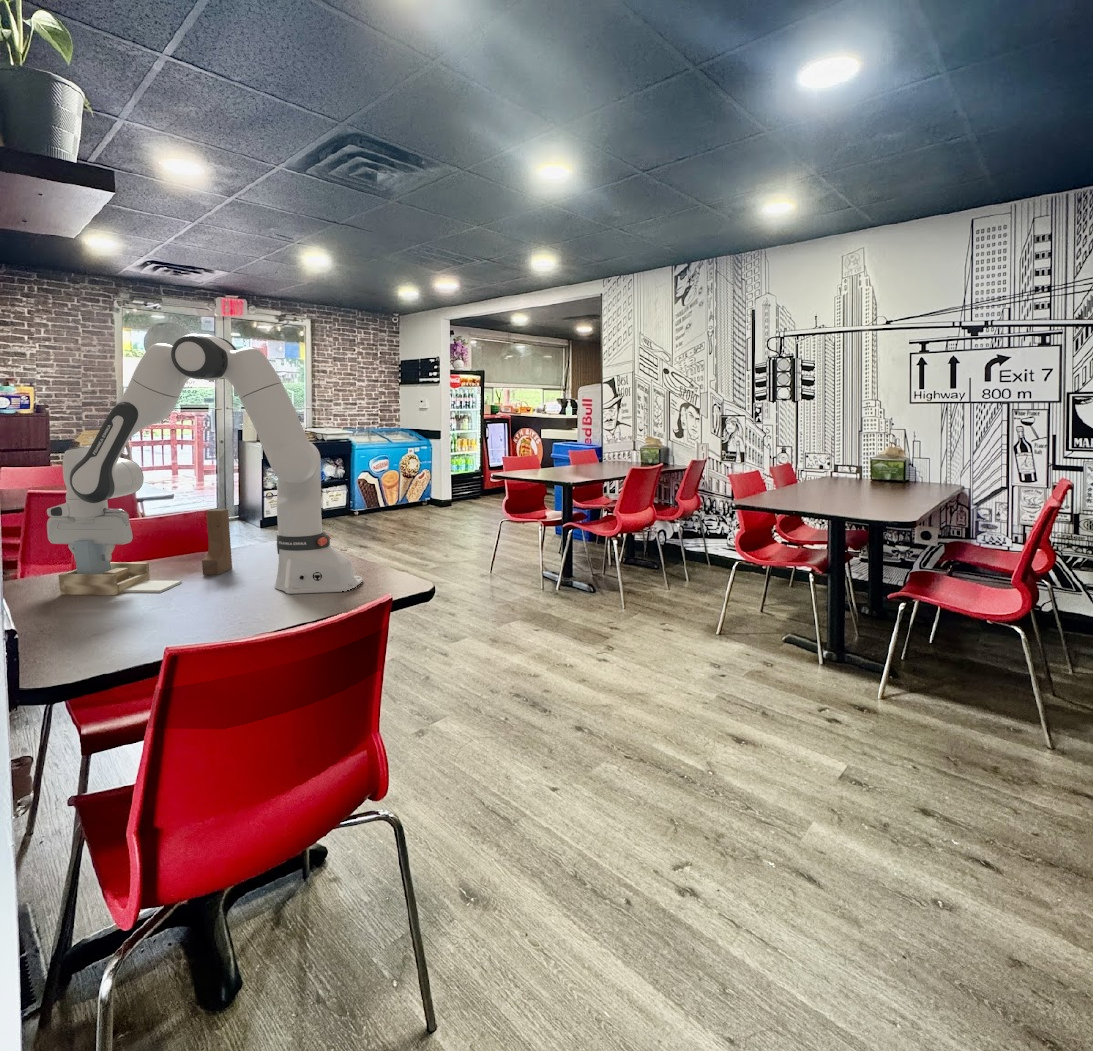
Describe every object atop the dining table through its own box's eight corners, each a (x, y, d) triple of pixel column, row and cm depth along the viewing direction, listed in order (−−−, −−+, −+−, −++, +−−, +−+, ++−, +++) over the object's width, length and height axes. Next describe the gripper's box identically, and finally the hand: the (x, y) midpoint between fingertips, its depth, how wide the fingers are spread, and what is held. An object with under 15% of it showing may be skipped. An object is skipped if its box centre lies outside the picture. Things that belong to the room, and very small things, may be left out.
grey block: (112, 583, 181) (107, 536, 179) (92, 591, 173) (87, 541, 171) (99, 583, 181) (94, 535, 179) (79, 590, 173) (73, 541, 171)
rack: (151, 580, 185) (149, 562, 184) (116, 594, 170) (114, 575, 169) (99, 579, 185) (98, 562, 184) (60, 594, 170) (58, 575, 169)
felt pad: (181, 582, 182) (181, 580, 182) (160, 592, 172) (160, 590, 172) (145, 582, 182) (144, 580, 182) (121, 592, 172) (121, 589, 172)
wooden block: (218, 575, 190) (213, 513, 187) (202, 575, 190) (197, 513, 187) (232, 568, 199) (228, 508, 196) (217, 568, 199) (213, 508, 196)
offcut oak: (128, 577, 179) (127, 568, 179) (115, 582, 174) (114, 572, 174) (117, 576, 180) (117, 567, 179) (103, 581, 174) (102, 572, 174)
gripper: (135, 507, 177) (140, 558, 179) (58, 506, 177) (63, 557, 179) (120, 510, 171) (125, 563, 173) (40, 509, 171) (46, 562, 173)
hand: (93, 560), depth 176 cm, fingers open, 6 cm apart
